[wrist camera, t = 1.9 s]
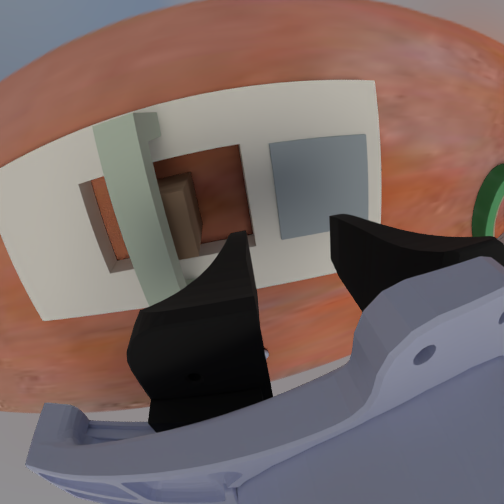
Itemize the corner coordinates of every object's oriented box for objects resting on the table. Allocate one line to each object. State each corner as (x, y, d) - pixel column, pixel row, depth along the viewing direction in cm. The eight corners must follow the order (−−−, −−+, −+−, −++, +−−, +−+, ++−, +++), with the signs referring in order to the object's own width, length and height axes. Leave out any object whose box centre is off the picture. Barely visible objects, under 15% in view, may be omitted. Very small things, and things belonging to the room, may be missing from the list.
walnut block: (190, 171, 19) (182, 190, 15) (202, 224, 21) (199, 256, 17) (137, 184, 19) (114, 206, 15) (151, 234, 21) (135, 268, 17)
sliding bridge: (156, 112, 15) (132, 112, 10) (202, 295, 21) (200, 344, 17) (125, 121, 15) (92, 126, 10) (176, 299, 21) (168, 348, 16)
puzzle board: (361, 82, 17) (376, 80, 15) (367, 252, 24) (379, 265, 22) (-4, 172, 16) (-20, 179, 14) (51, 308, 23) (41, 322, 21)
